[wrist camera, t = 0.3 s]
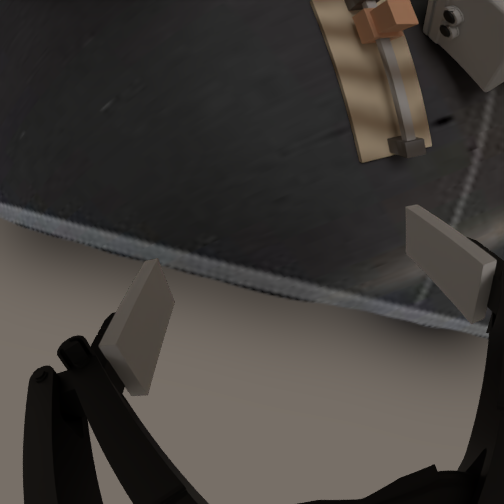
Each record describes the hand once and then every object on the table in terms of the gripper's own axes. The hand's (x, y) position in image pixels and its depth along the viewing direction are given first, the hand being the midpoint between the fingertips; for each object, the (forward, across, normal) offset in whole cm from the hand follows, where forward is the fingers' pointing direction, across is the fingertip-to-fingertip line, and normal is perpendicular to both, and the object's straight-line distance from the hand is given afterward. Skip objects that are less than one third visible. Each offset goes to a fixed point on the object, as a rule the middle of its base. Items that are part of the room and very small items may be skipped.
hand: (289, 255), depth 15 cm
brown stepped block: (+25, +18, +17) cm, 35 cm away
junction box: (+28, +39, +20) cm, 52 cm away
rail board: (+28, +19, +11) cm, 35 cm away
